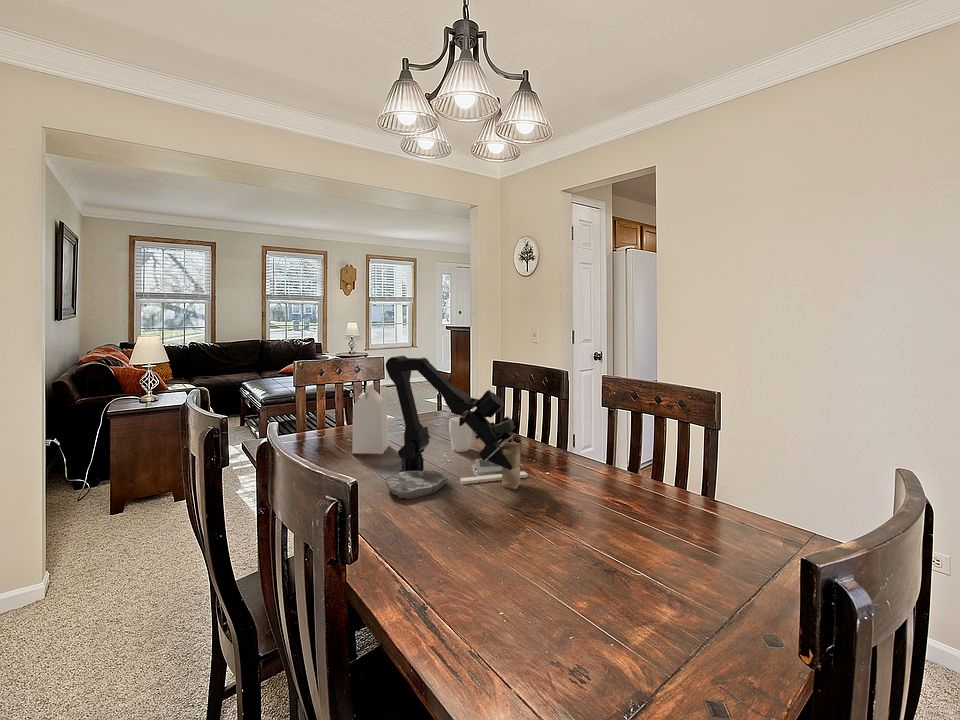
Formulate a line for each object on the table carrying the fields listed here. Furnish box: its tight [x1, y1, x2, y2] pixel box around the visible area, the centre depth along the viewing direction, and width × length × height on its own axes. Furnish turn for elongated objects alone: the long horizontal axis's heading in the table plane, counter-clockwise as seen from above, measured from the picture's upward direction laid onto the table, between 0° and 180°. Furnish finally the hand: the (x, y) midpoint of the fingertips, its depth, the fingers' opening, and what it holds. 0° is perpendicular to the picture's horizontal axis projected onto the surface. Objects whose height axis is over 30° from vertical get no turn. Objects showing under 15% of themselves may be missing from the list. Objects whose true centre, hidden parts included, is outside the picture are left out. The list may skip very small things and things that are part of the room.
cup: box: [448, 416, 473, 453], centre depth 190 cm, size 9×9×12 cm
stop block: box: [501, 442, 521, 490], centre depth 151 cm, size 5×5×13 cm
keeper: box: [471, 458, 502, 477], centre depth 166 cm, size 12×11×3 cm
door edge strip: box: [459, 471, 529, 485], centre depth 157 cm, size 22×3×1 cm, turn 107°
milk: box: [351, 382, 390, 455], centre depth 189 cm, size 12×12×26 cm
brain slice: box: [384, 470, 449, 500], centre depth 149 cm, size 20×17×3 cm
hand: (515, 464), depth 151 cm, fingers open, 8 cm apart
